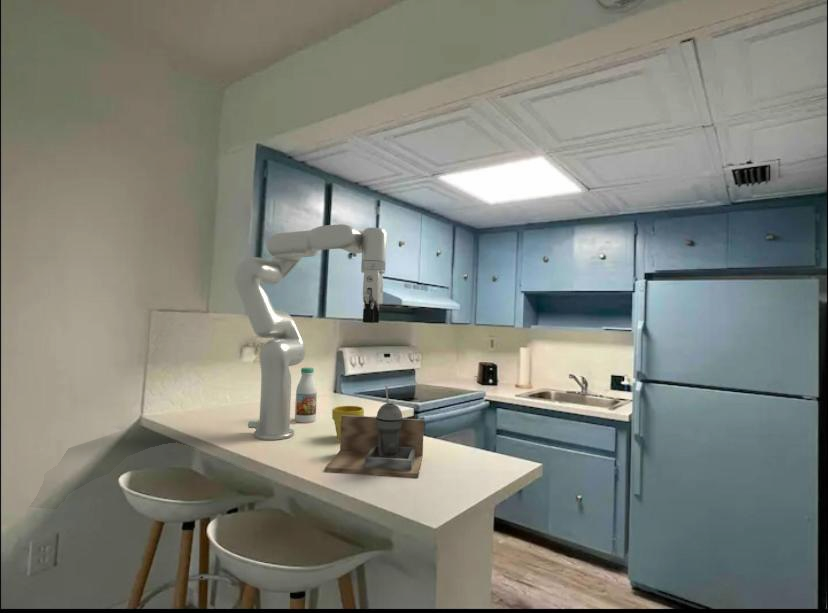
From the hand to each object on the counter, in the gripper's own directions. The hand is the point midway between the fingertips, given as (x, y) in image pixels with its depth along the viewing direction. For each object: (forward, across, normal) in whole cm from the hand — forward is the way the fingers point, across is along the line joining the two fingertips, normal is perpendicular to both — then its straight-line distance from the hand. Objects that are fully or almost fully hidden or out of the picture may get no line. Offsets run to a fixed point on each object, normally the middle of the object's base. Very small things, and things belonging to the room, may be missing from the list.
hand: (371, 322), depth 138 cm
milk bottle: (+38, +28, +29) cm, 56 cm away
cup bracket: (+38, -16, -6) cm, 42 cm away
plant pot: (+38, +8, +8) cm, 40 cm away
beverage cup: (+38, -16, -9) cm, 42 cm away
